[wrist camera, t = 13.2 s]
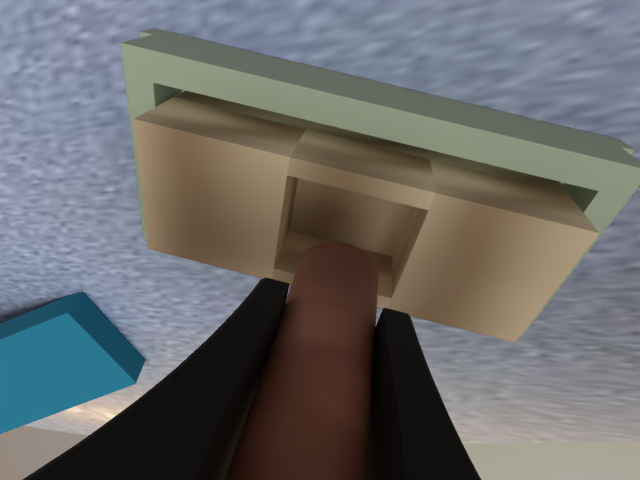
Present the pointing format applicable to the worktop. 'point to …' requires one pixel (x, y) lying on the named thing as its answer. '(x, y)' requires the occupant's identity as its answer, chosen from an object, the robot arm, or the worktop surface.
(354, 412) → the peg
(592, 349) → the worktop surface
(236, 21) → the worktop surface
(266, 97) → the cradle
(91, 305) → the lever
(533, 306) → the notched tan block
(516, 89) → the worktop surface
